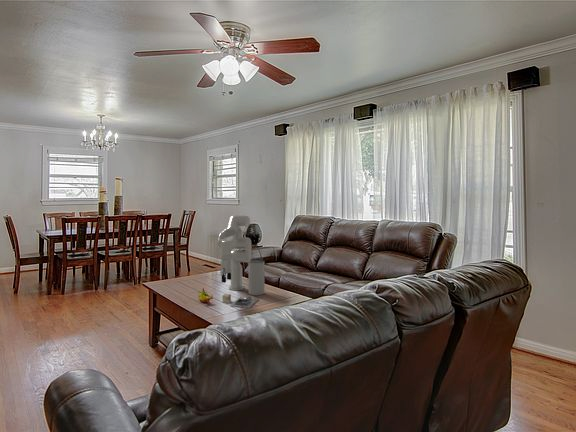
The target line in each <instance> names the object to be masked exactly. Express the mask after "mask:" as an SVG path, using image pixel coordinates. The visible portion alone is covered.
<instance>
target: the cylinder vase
mask: <svg viewBox="0 0 576 432" xmlns="http://www.w3.org/2000/svg"><path fill="white" fill-rule="evenodd" d="M265 267H266V266H265V260H264V261H263V260H250V261H249V262H248V294H249V295H251V296H262V295H264V294H265Z"/></svg>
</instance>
